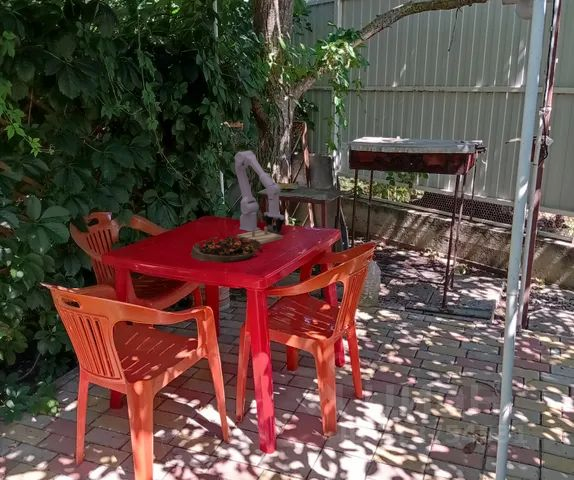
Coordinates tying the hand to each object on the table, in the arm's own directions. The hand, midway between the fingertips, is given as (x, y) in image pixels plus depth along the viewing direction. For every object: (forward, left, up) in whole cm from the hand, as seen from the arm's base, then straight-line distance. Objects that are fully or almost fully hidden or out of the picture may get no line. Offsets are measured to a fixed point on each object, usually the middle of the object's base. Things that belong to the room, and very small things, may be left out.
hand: (274, 230), depth 323 cm
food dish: (+13, -43, -2) cm, 45 cm away
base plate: (+3, -13, -1) cm, 13 cm away
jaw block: (0, 0, -2) cm, 2 cm away
